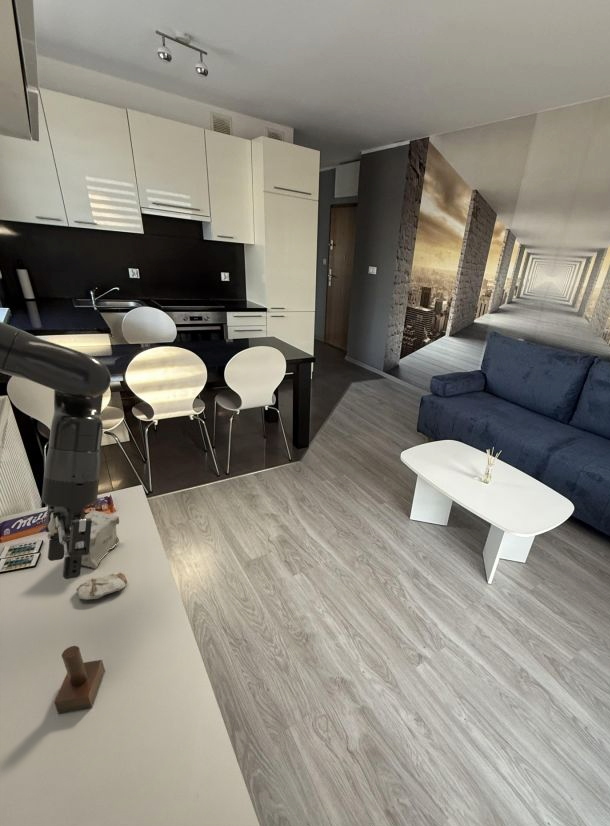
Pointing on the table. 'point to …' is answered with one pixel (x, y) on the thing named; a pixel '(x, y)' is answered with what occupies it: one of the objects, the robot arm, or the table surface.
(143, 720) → the table surface
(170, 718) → the table surface
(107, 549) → the incense holder
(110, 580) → the stone
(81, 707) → the stamp
